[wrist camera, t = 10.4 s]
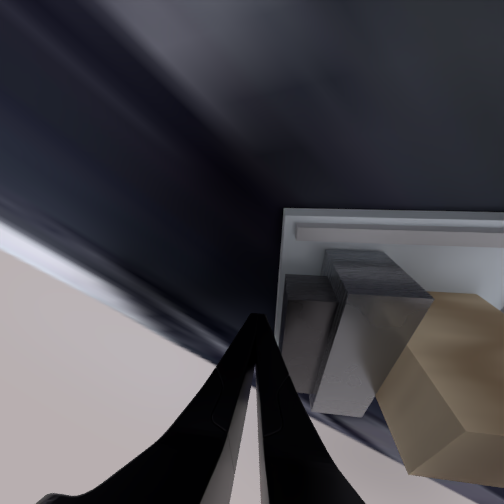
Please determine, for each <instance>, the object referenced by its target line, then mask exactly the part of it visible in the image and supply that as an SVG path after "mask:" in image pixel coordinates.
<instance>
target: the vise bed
mask: <svg viewBox="0 0 504 504" xmlns="http://www.w3.org/2000/svg"><path fill="white" fill-rule="evenodd" d="M325 249H326V250H352V251H378V252H384V253H385V254H387V255H388V256H389V257H390V258H391V259H392V260H393V261H394V262H395V263H396V264H397V265H398V266H400V267H401V268H402V269H403V270H404V271H405V272H406V273H407V274H408V275H409V276H410V277H411V278H413V279H414V280H415V281H416V282H417V283H418V284H419V285H420V286H421V287H422V288H423V289H424V290H426V291H431V292H449V293H467V294H477V295H479V296H480V297H481V298H483V299H484V300H486V301H487V302H488V303H490V304H491V305H493V306H494V307H496V308H497V309H498V310H500V311H501V312H503V313H504V212H464V211H413V210H362V209H311V208H284V211H283V225H282V238H281V251H280V264H279V277H278V291H277V304H276V317H275V330H274V337H275V340H276V342H277V345H279V335H280V324H281V314H282V303H283V293H284V283H285V274H296V275H316V276H320V273H321V269H322V264H323V259H324V254H325Z"/></svg>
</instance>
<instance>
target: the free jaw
mask: <svg viewBox="0 0 504 504" xmlns="http://www.w3.org/2000/svg"><path fill="white" fill-rule="evenodd" d="M434 300H435V299H434V298H433V297H432V296H431V295H430V294H429V293H428V292H427V291H426V290H424V289H423V288H422V287H421V286H420V285H419V284H418V283H417V282H416V281H415V280H414V279H413V278H411V277H410V276H409V275H408V274H407V273H406V272H405V271H404V270H403V269H402V268H401V267H400V266H398V265H397V264H396V263H395V262H394V261H393V260H392V259H391V258H390V257H389V256H388V255H387V254H385V253H384V252H378V251H352V250H326V249H325V254H324V259H323V264H322V269H321V273H320V276H316V275H296V274H285V283H284V293H283V303H282V314H281V324H280V335H279V345H278V347H279V350H280V352H281V355H282V357H283V360H284V362H285V365H286V367H287V370H288V372H289V376H290V377H291V379H292V382H293V384H294V387H295V389H296V391H297V392H299V393H309V398H310V404H311V411H312V412H320V413H328V414H337V415H346V416H354V417H362V416H363V414H364V413H365V411H366V410H367V408H368V406H369V405H370V403H371V402H372V400H373V398H374V397H375V395H376V393H377V392H378V390H379V389H380V387H381V385H382V384H383V382H384V380H385V379H386V377H387V376H388V374H389V372H390V371H391V369H392V368H393V366H394V364H395V363H396V361H397V359H398V358H399V356H400V355H401V353H402V351H403V350H404V348H405V347H406V345H407V343H408V342H409V340H410V338H411V337H412V335H413V334H414V332H415V330H416V329H417V327H418V326H419V324H420V322H421V321H422V319H423V317H424V316H425V314H426V313H427V311H428V309H429V308H430V306H431V304H432V303H433V301H434Z"/></svg>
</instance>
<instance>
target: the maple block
mask: <svg viewBox="0 0 504 504" xmlns="http://www.w3.org/2000/svg"><path fill="white" fill-rule="evenodd" d="M427 292H428V293H429V294H430V295H431V296H432V297H433V298H434V299H435V300H434V301H433V303H432V304H431V306H430V308H429V309H428V311H427V313H426V314H425V316H424V317H423V319H422V321H421V322H420V324H419V326H418V327H417V329H416V330H415V332H414V334H413V335H412V337H411V338H410V340H409V342H408V343H407V345H406V347H405V348H404V350H403V351H402V353H401V355H400V356H399V358H398V359H397V361H396V363H395V364H394V366H393V368H392V369H391V371H390V372H389V374H388V376H387V377H386V379H385V380H384V382H383V384H382V385H381V387H380V389H379V390H378V392H377V393H376V395H375V396H376V398H377V401H378V403H379V405H380V408H381V410H382V413H383V415H384V417H385V420H386V422H387V425H388V427H389V429H390V432H391V434H392V437H393V439H394V441H395V444H396V446H397V449H398V451H399V453H400V456H401V458H402V461H403V463H404V465H405V468H406V470H407V472H408V474H409V475H415V476H422V477H429V478H437V479H444V480H451V481H458V482H465V483H473V484H480V485H487V486H494V487H502V488H504V313H503V312H501V311H500V310H498V309H497V308H496V307H494V306H493V305H491V304H490V303H488V302H487V301H486V300H484V299H483V298H481V297H480V296H479V295H477V294H467V293H449V292H431V291H427Z"/></svg>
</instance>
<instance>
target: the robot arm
mask: <svg viewBox="0 0 504 504" xmlns="http://www.w3.org/2000/svg"><path fill="white" fill-rule="evenodd" d="M254 367H256V392H257V416H258V441H259V464H260V465H259V466H260V489H261V490H260V491H261V504H365V502H364V501H363V500H362V499H361V498H360V496H359V495H358V494H357V492H356V491H355V490H354V489H353V487H352V486H351V485H350V483H349V482H348V481H347V480H346V479H345V477H344V476H343V475H342V473H341V472H340V471H339V470H338V468H337V466H336V465H335V463H334V462H333V460H332V458H331V457H330V455H329V453H328V452H327V450H326V448H325V446H324V444H323V443H322V441H321V439H320V437H319V435H318V433H317V431H316V429H315V427H314V426H313V423H312V422H311V420H310V418H309V416H308V414H307V412H306V410H305V408H304V406H303V404H302V402H301V400H300V398H299V396H298V394H297V391H296V389H295V387H294V384H293V382H292V379H291V377H290V376H289V372H288V370H287V367H286V365H285V362H284V360H283V357H282V355H281V352H280V350H279V347H278V345H277V342H276V340H275V337H274V335H273V332H272V330H271V327H270V325H269V322H268V319H267V317H266V315H265V314H257V313H251V314H250V315H249V317H248V318H247V320H246V322H245V323H244V325H243V326H242V328H241V329H240V331H239V332H238V334H237V335H236V337H235V338H234V340H233V342H232V343H231V345H230V346H229V348H228V349H227V351H226V352H225V354H224V355H223V357H222V358H221V360H220V361H219V363H218V365H217V366H216V368H215V369H214V371H213V372H212V374H211V375H210V377H209V378H208V380H207V381H206V382H205V384H204V385H203V387H202V388H201V389H200V391H199V392H198V393H197V394H196V396H195V397H194V398H193V399H192V401H191V402H190V403H189V404H188V406H187V407H186V408H185V409H184V411H183V412H182V413H181V414H180V415H179V417H178V418H177V419H176V420H175V422H174V423H173V424H172V425H171V426H170V428H169V429H168V430H167V431H166V432H165V433H164V434H163V436H162V437H160V439H158V440H157V441H156V442H155V443H154V444H153V445H151V446H150V447H149V448H148V449H146V450H145V451H144V452H142V453H141V454H140V455H138V456H137V457H136V458H135V459H133V460H132V461H130V462H129V463H128V464H127V465H125V466H124V467H123V468H121V469H120V470H119V471H117V472H116V473H115V474H113V475H112V476H111V477H110V478H108V479H107V480H106V481H104V482H103V483H102V484H100V485H99V486H97V487H96V488H94V489H93V490H91V491H89V492H87V493H85V494H81V495H78V496H69V495H64V494H56V493H50V494H47V495H45V496H44V497H43V498H42V499H41V500H39V501H38V502H37V503H36V504H229V502H230V497H231V491H232V486H233V480H234V474H235V470H236V464H237V459H238V453H239V448H240V442H241V437H242V432H243V426H244V421H245V416H246V410H247V405H248V400H249V394H250V389H251V384H252V378H253V373H254Z"/></svg>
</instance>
